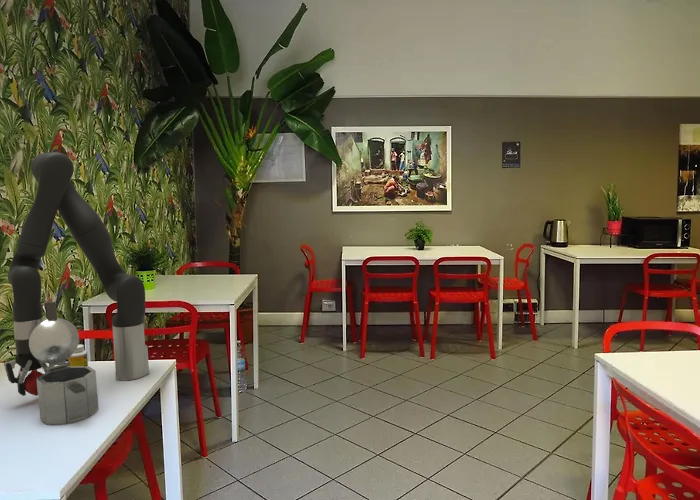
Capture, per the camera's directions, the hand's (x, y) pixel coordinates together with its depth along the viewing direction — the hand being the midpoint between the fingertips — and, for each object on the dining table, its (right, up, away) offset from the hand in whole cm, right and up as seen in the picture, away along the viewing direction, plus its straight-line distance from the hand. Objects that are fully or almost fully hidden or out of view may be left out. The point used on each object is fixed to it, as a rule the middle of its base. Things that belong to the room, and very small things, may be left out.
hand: (36, 391), depth 150 cm
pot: (+14, -4, -8) cm, 17 cm away
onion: (0, -1, 0) cm, 1 cm away
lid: (+8, +17, -5) cm, 19 cm away
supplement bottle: (+2, -1, +20) cm, 20 cm away
